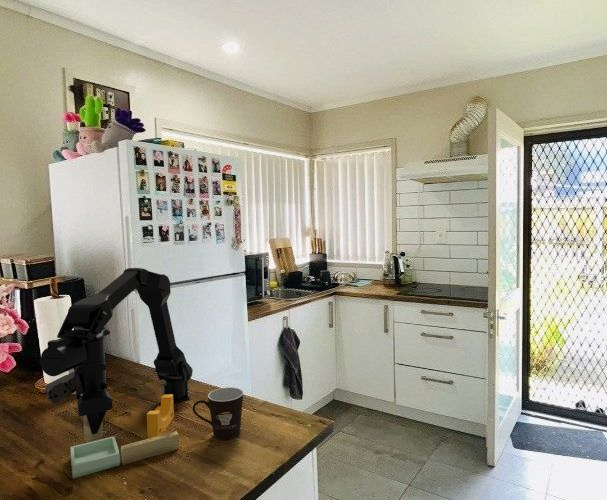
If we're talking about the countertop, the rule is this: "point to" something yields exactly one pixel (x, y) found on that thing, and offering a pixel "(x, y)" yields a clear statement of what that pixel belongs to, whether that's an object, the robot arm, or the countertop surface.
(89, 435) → the oak dowel
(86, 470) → the tray
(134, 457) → the bar
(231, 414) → the coffee mug
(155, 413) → the pipe clamp
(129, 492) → the countertop surface
